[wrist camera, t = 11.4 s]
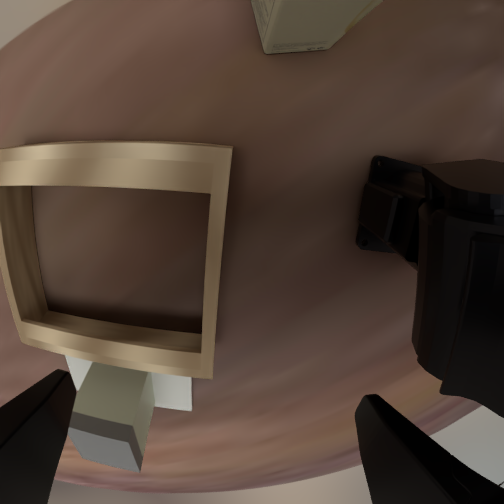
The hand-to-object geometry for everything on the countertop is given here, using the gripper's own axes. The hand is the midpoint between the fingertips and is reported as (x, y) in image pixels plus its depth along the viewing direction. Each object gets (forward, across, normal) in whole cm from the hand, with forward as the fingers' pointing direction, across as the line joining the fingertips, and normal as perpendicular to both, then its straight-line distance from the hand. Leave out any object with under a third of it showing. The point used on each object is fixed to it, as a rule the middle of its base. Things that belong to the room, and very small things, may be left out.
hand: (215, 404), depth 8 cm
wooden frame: (+13, +8, +1) cm, 15 cm away
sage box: (+12, +8, +14) cm, 20 cm away
